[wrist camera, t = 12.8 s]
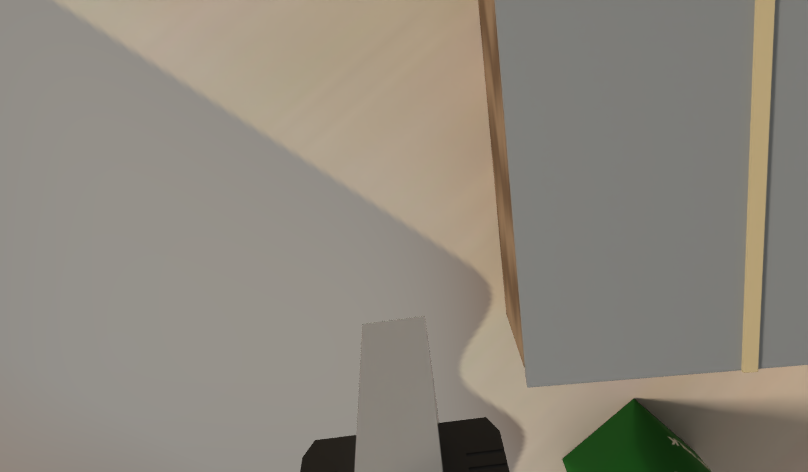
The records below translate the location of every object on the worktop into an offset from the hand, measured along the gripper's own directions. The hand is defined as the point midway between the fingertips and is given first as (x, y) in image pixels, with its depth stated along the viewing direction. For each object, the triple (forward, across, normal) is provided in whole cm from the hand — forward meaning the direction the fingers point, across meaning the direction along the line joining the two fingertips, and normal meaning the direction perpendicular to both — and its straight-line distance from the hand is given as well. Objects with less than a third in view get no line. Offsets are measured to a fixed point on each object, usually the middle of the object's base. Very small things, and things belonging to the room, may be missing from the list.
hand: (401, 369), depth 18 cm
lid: (+23, +14, -4) cm, 27 cm away
